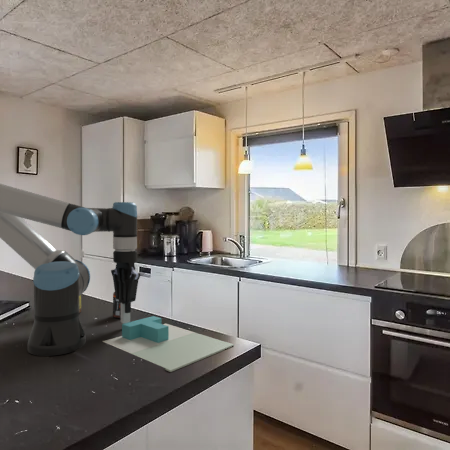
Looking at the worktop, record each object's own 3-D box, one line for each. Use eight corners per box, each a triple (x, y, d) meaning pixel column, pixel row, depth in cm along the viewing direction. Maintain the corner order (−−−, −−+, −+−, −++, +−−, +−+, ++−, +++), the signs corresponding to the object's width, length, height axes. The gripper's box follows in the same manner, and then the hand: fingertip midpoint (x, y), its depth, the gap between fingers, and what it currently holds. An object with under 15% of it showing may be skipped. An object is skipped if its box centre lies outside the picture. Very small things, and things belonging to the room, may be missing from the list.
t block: (146, 346, 108) (146, 332, 108) (122, 337, 116) (122, 324, 116) (178, 336, 118) (178, 323, 117) (153, 328, 125) (153, 316, 125)
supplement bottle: (119, 319, 136) (119, 287, 136) (109, 316, 140) (109, 285, 140) (133, 316, 141) (133, 285, 141) (122, 313, 145) (122, 283, 144)
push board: (170, 372, 93) (170, 370, 93) (102, 343, 112) (102, 341, 112) (233, 346, 111) (233, 344, 111) (165, 324, 131) (165, 323, 131)
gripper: (147, 250, 123) (147, 323, 124) (123, 247, 131) (123, 316, 132) (127, 252, 117) (127, 329, 118) (103, 249, 126) (104, 320, 127)
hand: (125, 322), depth 125 cm, fingers closed
